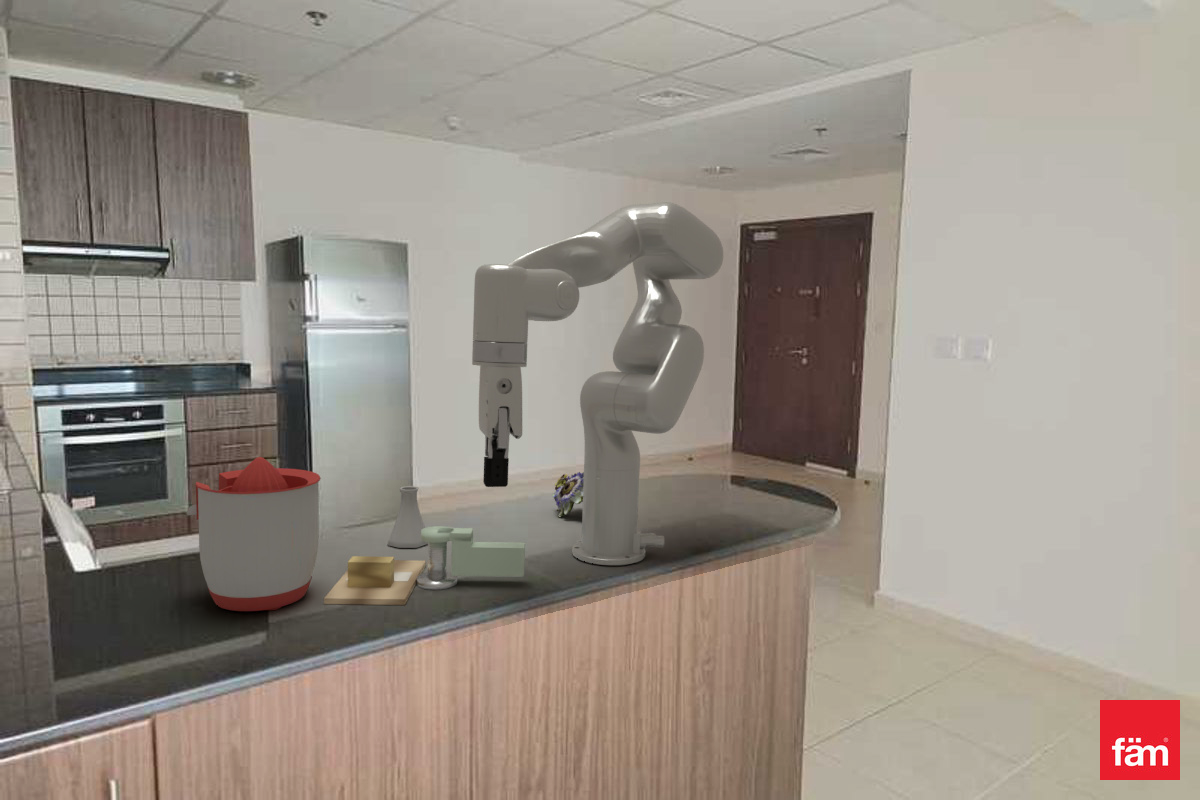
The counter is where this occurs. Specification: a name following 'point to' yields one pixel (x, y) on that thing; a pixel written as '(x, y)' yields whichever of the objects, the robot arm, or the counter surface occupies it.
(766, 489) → the counter surface
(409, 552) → the counter surface
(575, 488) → the passion flower
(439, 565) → the post
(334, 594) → the oak board
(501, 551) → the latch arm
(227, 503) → the citrus juicer
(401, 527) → the flask
